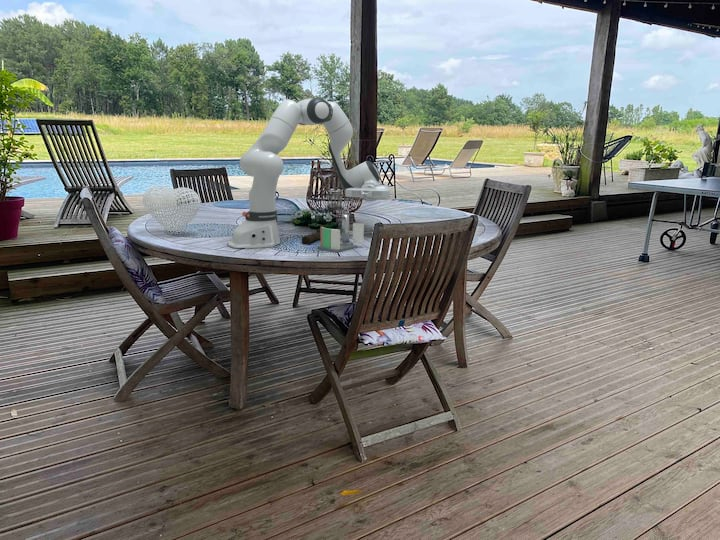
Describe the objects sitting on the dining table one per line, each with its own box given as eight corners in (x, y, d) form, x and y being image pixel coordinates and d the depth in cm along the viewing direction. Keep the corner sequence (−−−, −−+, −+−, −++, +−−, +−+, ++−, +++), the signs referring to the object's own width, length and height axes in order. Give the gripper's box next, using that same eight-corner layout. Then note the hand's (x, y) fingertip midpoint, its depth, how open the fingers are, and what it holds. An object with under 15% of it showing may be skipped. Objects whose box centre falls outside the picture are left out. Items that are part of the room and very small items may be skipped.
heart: (209, 234, 238) (206, 186, 232) (185, 240, 224) (181, 189, 218) (164, 229, 249) (160, 183, 243) (139, 234, 235) (134, 186, 229)
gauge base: (340, 243, 222) (340, 222, 219) (360, 246, 215) (360, 225, 213) (317, 248, 210) (316, 227, 208) (336, 252, 204) (336, 230, 201)
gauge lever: (342, 240, 217) (342, 214, 214) (363, 241, 215) (364, 215, 212) (334, 248, 203) (334, 219, 200) (356, 249, 201) (357, 220, 198)
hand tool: (309, 245, 218) (309, 235, 216) (301, 244, 219) (301, 234, 218) (329, 238, 234) (329, 228, 233) (322, 237, 236) (321, 227, 235)
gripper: (348, 184, 236) (341, 187, 223) (392, 185, 232) (387, 188, 219) (348, 197, 238) (341, 201, 225) (391, 198, 234) (387, 202, 221)
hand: (364, 194), depth 222 cm, fingers closed
